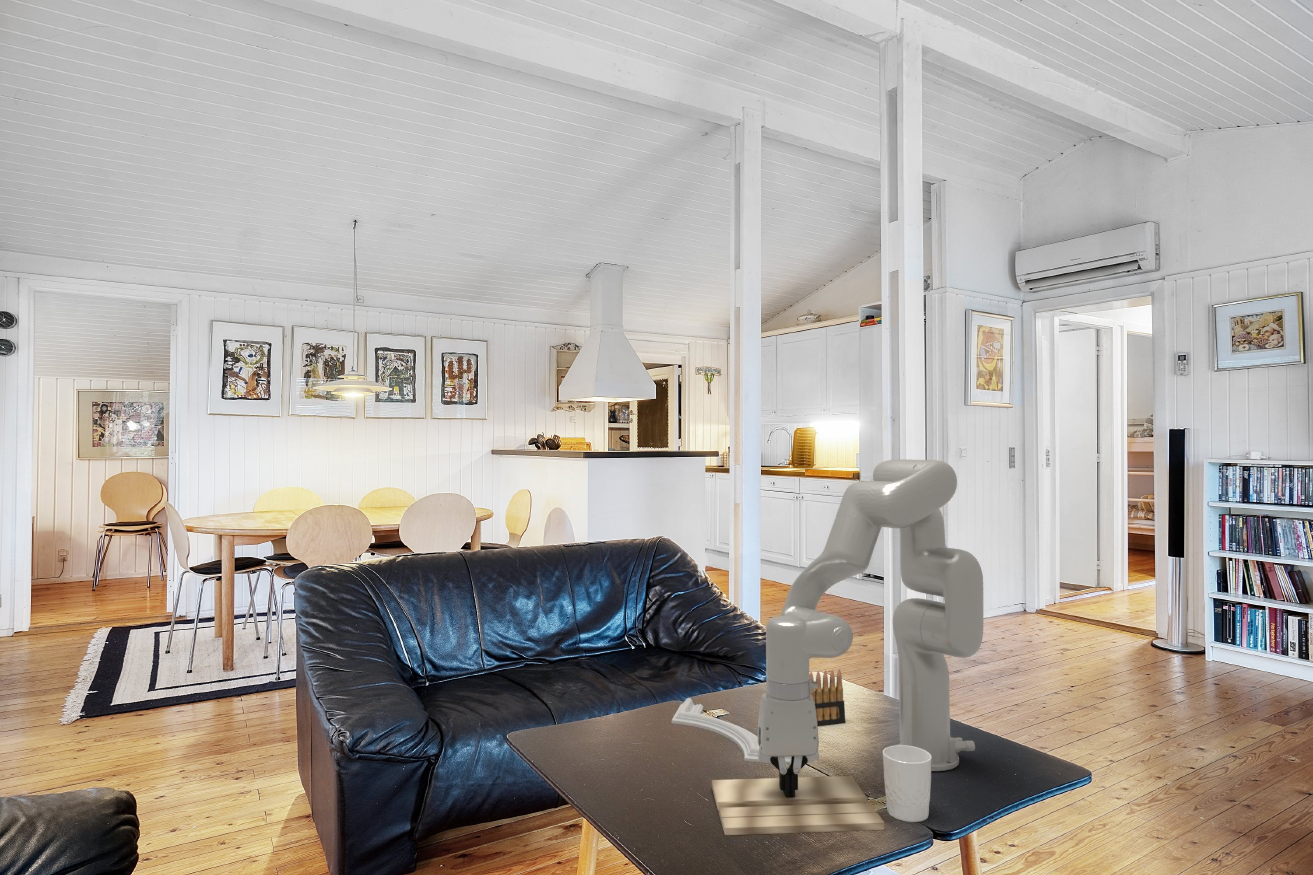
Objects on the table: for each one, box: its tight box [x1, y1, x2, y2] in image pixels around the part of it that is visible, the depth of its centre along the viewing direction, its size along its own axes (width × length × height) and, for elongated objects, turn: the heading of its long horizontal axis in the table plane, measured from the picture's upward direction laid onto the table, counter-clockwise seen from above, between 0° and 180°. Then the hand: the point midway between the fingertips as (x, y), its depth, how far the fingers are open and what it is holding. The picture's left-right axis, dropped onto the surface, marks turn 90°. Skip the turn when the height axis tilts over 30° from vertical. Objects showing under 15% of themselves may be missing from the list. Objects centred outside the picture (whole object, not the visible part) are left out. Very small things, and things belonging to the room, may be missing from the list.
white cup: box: [882, 744, 932, 823], centre depth 131 cm, size 8×8×10 cm
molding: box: [671, 697, 791, 765], centre depth 167 cm, size 42×12×3 cm, turn 33°
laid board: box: [718, 802, 885, 836], centre depth 127 cm, size 26×7×1 cm, turn 93°
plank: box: [711, 775, 869, 812], centre depth 136 cm, size 26×9×1 cm, turn 93°
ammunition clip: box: [809, 668, 846, 727], centre depth 173 cm, size 11×2×12 cm, turn 106°
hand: (788, 793), depth 135 cm, fingers closed
